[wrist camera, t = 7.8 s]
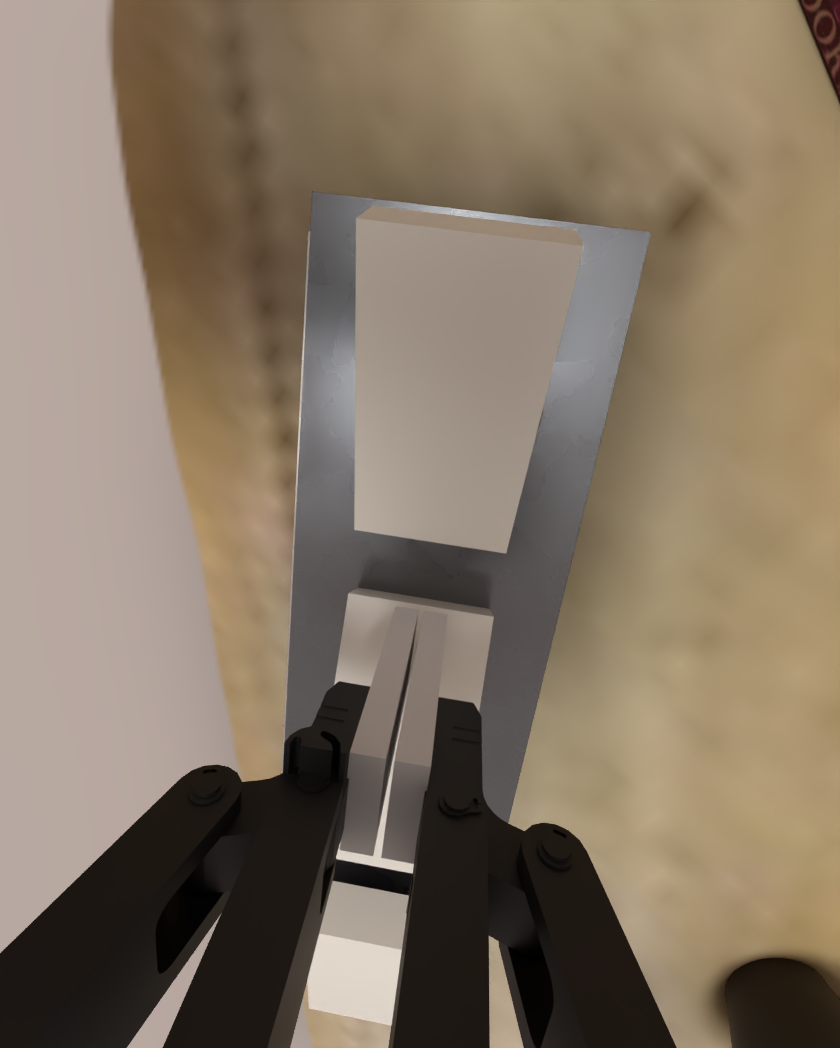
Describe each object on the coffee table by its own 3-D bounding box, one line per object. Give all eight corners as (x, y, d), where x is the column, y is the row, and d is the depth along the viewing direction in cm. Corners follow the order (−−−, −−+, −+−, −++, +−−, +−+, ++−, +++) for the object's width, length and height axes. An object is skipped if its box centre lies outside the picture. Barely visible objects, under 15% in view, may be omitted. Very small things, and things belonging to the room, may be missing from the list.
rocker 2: (379, 197, 14) (351, 217, 12) (576, 221, 14) (588, 246, 11) (370, 477, 20) (351, 529, 17) (509, 498, 19) (509, 554, 17)
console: (345, 226, 20) (305, 190, 16) (610, 258, 20) (651, 232, 15) (300, 864, 32) (270, 953, 27) (468, 896, 31) (466, 994, 27)
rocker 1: (324, 844, 22) (301, 929, 20) (445, 867, 22) (438, 957, 20) (325, 930, 27) (306, 1007, 25) (424, 949, 27) (416, 1030, 25)
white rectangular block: (360, 583, 21) (345, 592, 18) (489, 604, 21) (496, 617, 18) (326, 805, 21) (305, 852, 18) (454, 829, 21) (455, 882, 18)
